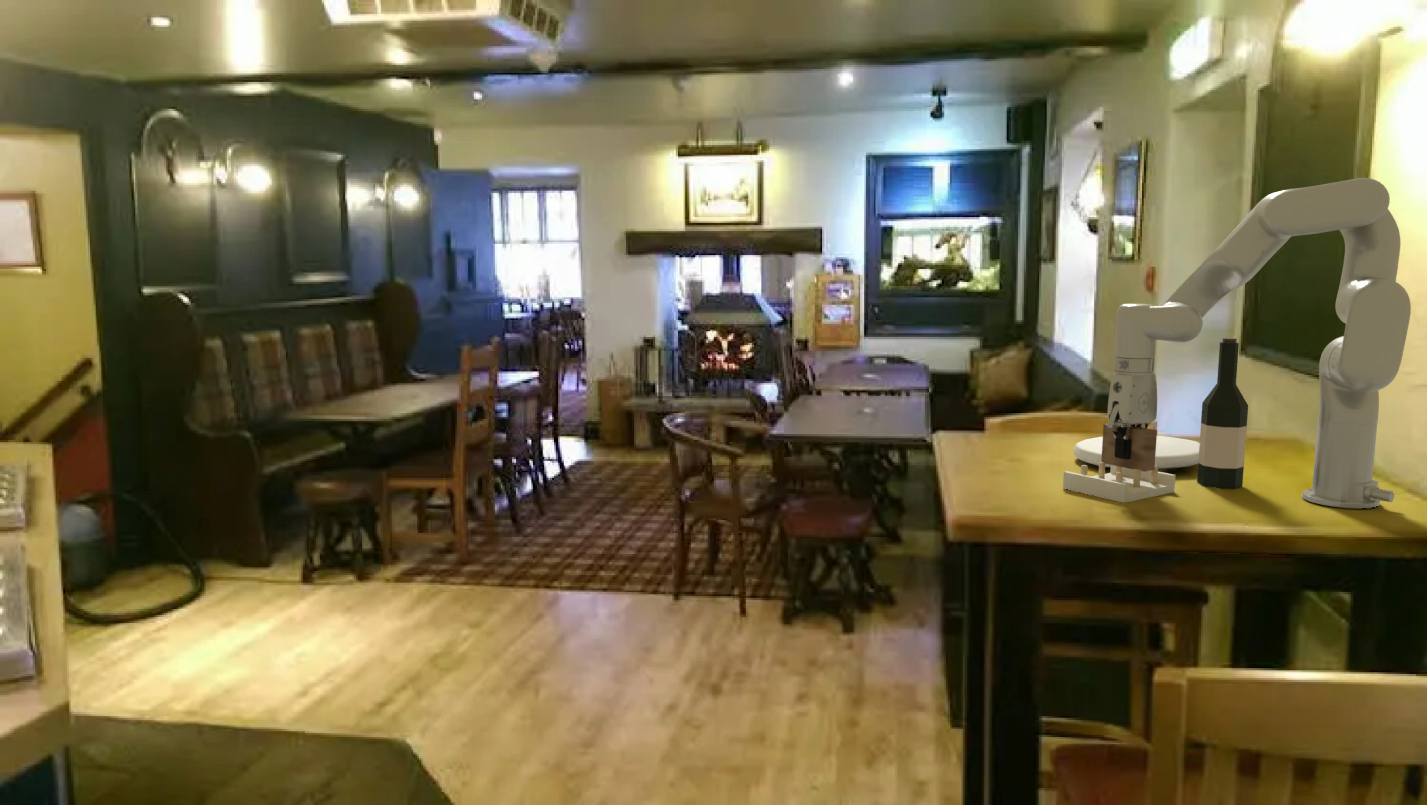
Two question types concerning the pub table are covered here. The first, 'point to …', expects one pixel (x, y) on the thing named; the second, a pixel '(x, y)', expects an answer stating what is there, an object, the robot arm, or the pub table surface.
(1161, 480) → the rack
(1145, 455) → the walnut board
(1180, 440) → the plate
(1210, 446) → the wine bottle
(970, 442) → the pub table surface
